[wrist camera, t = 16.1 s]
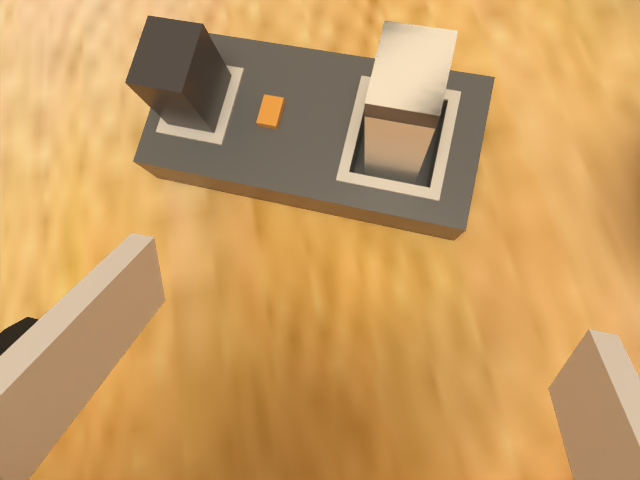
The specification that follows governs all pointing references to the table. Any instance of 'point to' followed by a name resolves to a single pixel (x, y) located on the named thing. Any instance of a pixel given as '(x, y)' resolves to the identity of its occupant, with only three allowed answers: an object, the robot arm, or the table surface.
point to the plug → (405, 98)
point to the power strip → (295, 128)
